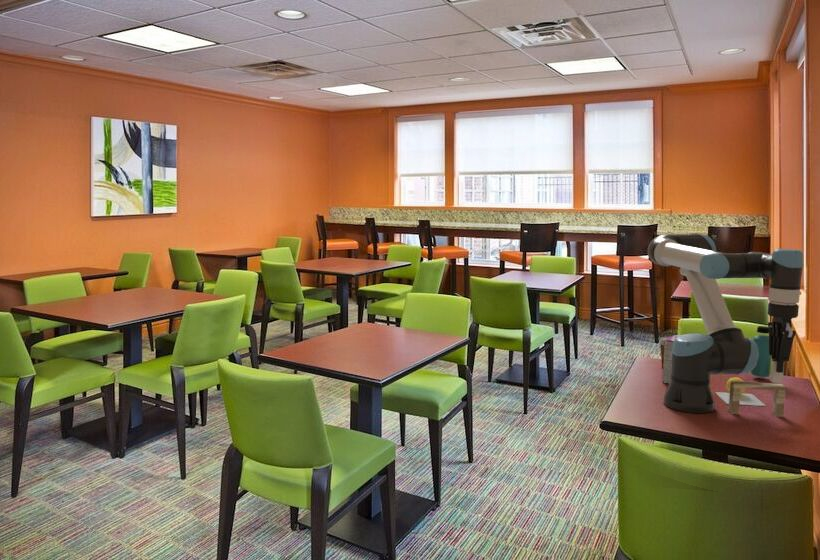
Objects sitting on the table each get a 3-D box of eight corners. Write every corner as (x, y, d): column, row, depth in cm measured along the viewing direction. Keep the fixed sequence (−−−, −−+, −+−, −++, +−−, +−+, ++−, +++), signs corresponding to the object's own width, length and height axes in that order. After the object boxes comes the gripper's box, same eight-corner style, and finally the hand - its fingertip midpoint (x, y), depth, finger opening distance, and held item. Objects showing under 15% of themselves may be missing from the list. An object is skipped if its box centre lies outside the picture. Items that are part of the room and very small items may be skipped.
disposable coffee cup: (653, 365, 247) (654, 336, 245) (675, 365, 248) (677, 336, 246) (665, 372, 238) (667, 342, 236) (688, 371, 239) (690, 341, 237)
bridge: (783, 416, 190) (785, 386, 189) (731, 413, 192) (734, 384, 191) (779, 413, 193) (781, 383, 191) (728, 410, 195) (730, 381, 194)
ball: (723, 393, 214) (729, 395, 208) (723, 376, 214) (729, 377, 209) (742, 394, 213) (748, 396, 207) (742, 376, 213) (748, 378, 208)
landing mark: (726, 404, 201) (726, 403, 201) (715, 392, 213) (715, 392, 213) (765, 406, 199) (765, 405, 199) (752, 394, 211) (752, 394, 211)
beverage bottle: (773, 381, 227) (777, 328, 224) (755, 381, 227) (759, 328, 224) (763, 376, 233) (767, 324, 230) (746, 375, 233) (750, 324, 230)
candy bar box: (671, 376, 232) (674, 334, 230) (685, 378, 229) (688, 336, 227) (661, 382, 224) (663, 339, 222) (675, 385, 221) (678, 341, 219)
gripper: (808, 307, 168) (800, 389, 171) (787, 299, 180) (781, 376, 184) (778, 306, 169) (771, 388, 172) (760, 298, 182) (754, 375, 185)
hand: (776, 382), depth 178 cm, fingers closed
